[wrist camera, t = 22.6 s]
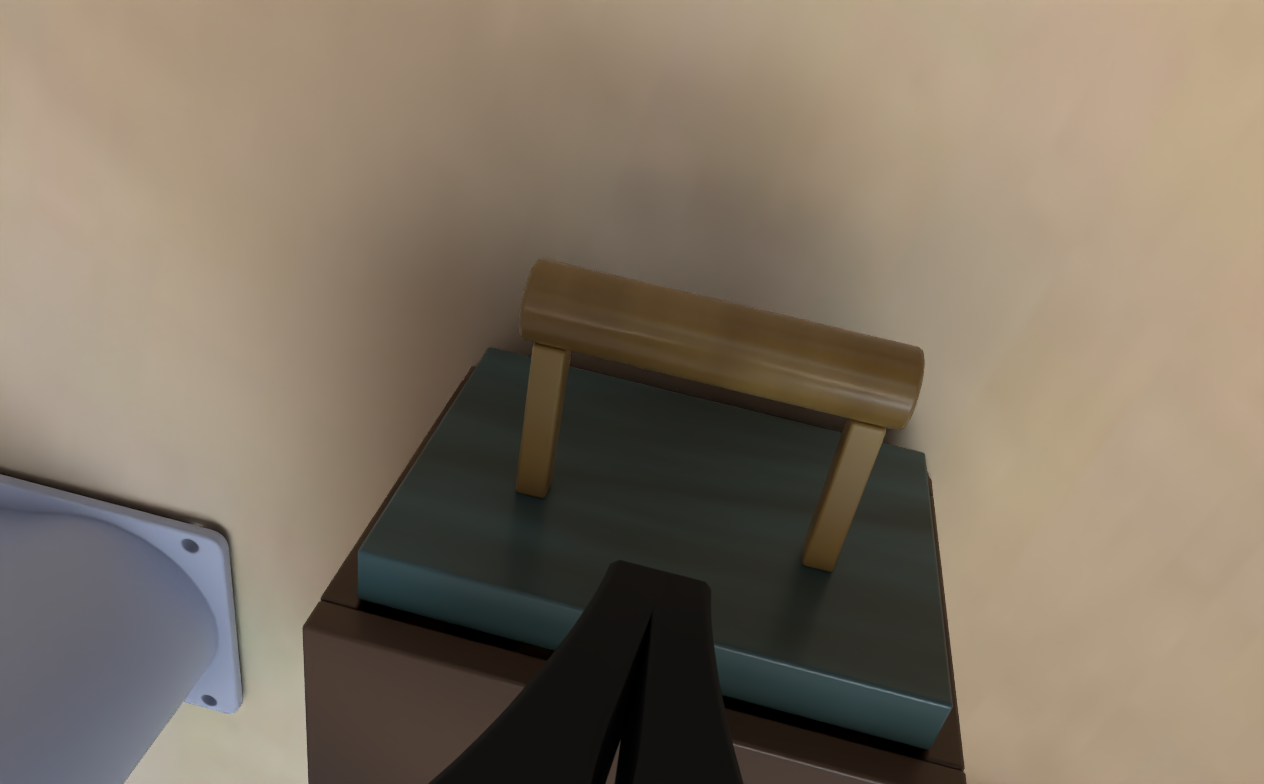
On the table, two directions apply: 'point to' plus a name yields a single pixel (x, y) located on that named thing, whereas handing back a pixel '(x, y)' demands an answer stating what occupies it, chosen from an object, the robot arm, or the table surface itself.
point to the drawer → (686, 501)
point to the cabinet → (493, 677)
